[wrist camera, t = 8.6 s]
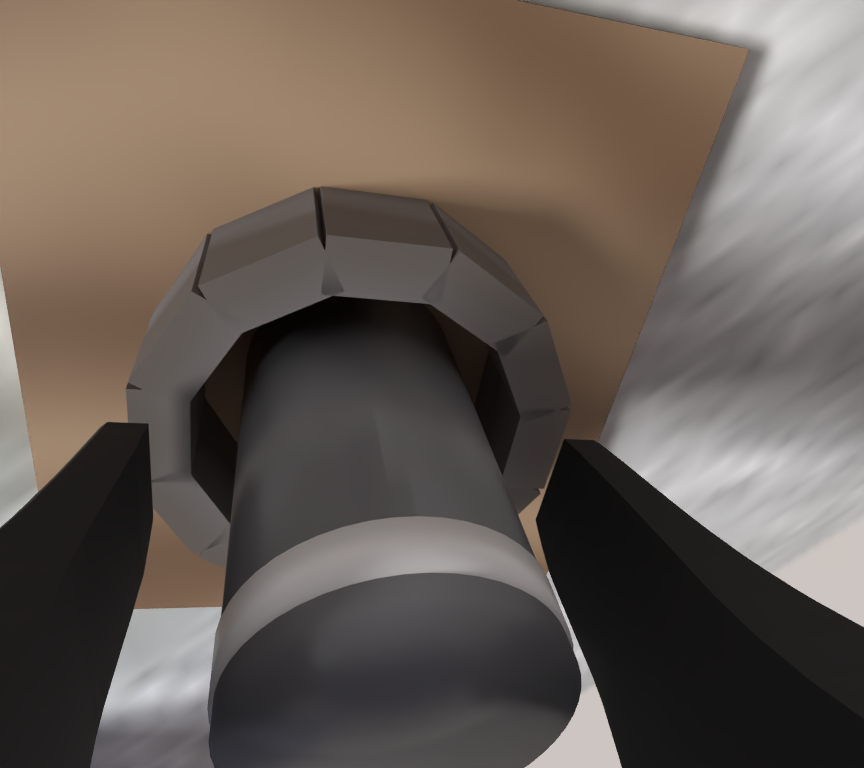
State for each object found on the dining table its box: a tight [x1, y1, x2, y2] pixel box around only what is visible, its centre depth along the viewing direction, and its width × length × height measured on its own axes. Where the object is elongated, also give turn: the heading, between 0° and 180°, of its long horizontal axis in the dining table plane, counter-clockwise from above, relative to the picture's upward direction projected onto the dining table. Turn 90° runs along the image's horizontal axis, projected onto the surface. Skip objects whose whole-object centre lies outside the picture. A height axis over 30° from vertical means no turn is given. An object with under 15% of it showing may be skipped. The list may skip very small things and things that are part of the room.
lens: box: [208, 296, 581, 768], centre depth 11 cm, size 4×4×8 cm
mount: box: [0, 0, 749, 609], centre depth 14 cm, size 15×13×4 cm
